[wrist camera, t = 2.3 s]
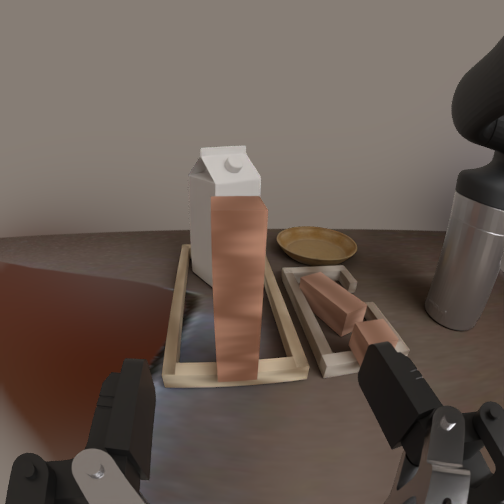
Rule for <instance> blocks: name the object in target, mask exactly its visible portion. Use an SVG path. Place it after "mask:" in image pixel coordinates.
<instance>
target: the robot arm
mask: <svg viewBox="0 0 504 504" xmlns="http://www.w3.org/2000/svg"><path fill="white" fill-rule="evenodd" d="M452 118H453V122H454V125H455V127H456V129H457V131H458V132H459V133H460V134H461V135H462V136H463V137H464V138H465V139H467V140H468V141H470V142H473V143H475V144H478V145H481V146H484V147H487V148H490V149H493V150H495V153H494V157H493V160H492V161H491V162H490V163H489V164H487V165H486V166H483V167H481V168H476V169H468V170H463V171H461V172H460V173H459V175H458V179H457V184H456V191H455V196H454V201H453V206H452V211H451V216H450V220H449V224H448V229H447V233H446V237H445V240H444V244H443V248H442V251H441V255H440V258H439V262H438V265H437V268H436V271H435V275H434V278H433V281H432V284H431V287H430V290H429V293H428V295H427V298H426V301H425V309H426V311H427V312H428V314H429V315H430V316H431V317H432V318H433V319H434V320H435V321H437V322H438V323H439V324H441V325H443V326H445V327H448V328H450V329H454V330H461V331H463V330H469V329H471V328H472V327H474V325H475V323H476V321H477V319H479V318H480V316H481V314H482V312H483V309H484V307H485V305H486V303H487V300H488V298H489V295H490V293H491V290H492V288H493V285H494V283H495V280H496V277H497V275H498V272H499V269H500V266H501V262H500V261H501V258H502V255H503V252H504V36H503V38H502V39H501V40H500V41H499V42H498V43H497V45H496V46H495V47H494V48H493V49H492V50H491V51H490V52H489V53H488V54H487V55H486V56H485V57H484V58H483V59H482V60H480V61H479V62H478V63H477V64H476V65H475V66H474V67H472V68H471V69H470V70H469V71H468V72H467V73H466V74H465V75H464V77H463V78H462V79H461V81H460V82H459V84H458V86H457V88H456V91H455V93H454V97H453V101H452ZM358 382H359V385H360V387H361V389H362V391H363V393H364V395H365V397H366V399H367V401H368V403H369V405H370V407H371V409H372V411H373V413H374V415H375V417H376V419H377V421H378V423H379V425H380V427H381V429H382V431H383V433H384V435H385V437H386V439H387V441H388V443H389V445H390V447H391V449H395V448H398V447H400V446H403V448H404V451H403V452H402V455H401V458H400V462H399V466H398V470H397V473H396V477H395V480H394V483H393V487H392V490H391V492H390V495H389V496H388V498H387V499H386V501H385V502H384V504H504V409H503V408H502V407H501V406H500V405H499V404H497V403H495V402H486V403H484V404H483V405H482V406H481V407H480V409H479V410H478V411H477V412H470V413H461V412H460V411H459V410H458V409H456V408H454V407H452V406H443V405H442V404H441V402H440V401H439V399H438V398H437V396H436V395H435V393H434V392H433V391H432V389H431V388H430V386H429V385H428V383H427V382H426V380H425V379H424V378H422V375H421V373H420V372H419V371H417V368H416V366H415V365H414V364H413V362H412V361H411V360H410V359H409V358H408V357H407V356H405V355H404V354H402V353H401V352H397V351H396V350H395V348H394V347H393V345H392V344H391V343H390V342H388V341H386V342H381V343H375V344H370V345H369V346H368V348H367V351H366V353H365V356H364V359H363V362H362V364H361V367H360V369H359V372H358ZM99 396H100V397H99V399H98V402H97V408H96V410H95V414H94V417H93V421H92V426H91V429H90V434H89V439H88V442H87V446H86V448H85V449H84V450H83V451H81V452H80V453H78V454H77V455H76V456H75V458H73V459H70V460H64V461H50V462H45V461H44V460H43V459H42V458H41V457H40V456H38V455H36V454H33V453H25V454H22V455H20V456H19V457H17V459H16V460H15V461H14V463H13V466H12V471H11V475H10V480H9V485H8V491H7V497H6V503H5V504H149V503H148V502H147V500H146V499H145V498H144V496H143V495H142V494H141V493H140V491H139V489H140V480H149V478H150V461H151V447H152V434H153V423H154V413H155V404H156V394H155V387H154V383H153V380H152V376H151V373H150V369H149V365H148V362H147V360H146V359H127V358H126V359H125V360H124V362H123V365H122V369H121V373H113V372H112V373H111V374H110V375H109V376H108V377H107V378H106V380H105V381H104V382H103V384H102V388H101V392H100V395H99ZM484 446H485V447H486V449H487V450H488V452H489V454H490V456H491V458H492V460H493V461H494V463H495V466H496V471H495V473H494V474H492V473H491V471H490V469H489V467H488V466H487V464H486V462H485V460H484V458H483V456H482V454H481V452H480V450H481V449H482V448H483V447H484Z"/></svg>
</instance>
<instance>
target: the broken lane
mask: <svg viewBox="0 0 504 504" xmlns="http://www.w3.org/2000/svg"><path fill="white" fill-rule="evenodd" d="M281 279H282V281H283V284H284V286H285V288H286V291H287V293H288V295H289V298H290V300H291V302H292V305H293V307H294V310H295V312H296V314H297V317H298V319H299V321H300V324H301V326H302V328H303V331H304V333H305V336H306V338H307V340H308V343H309V345H310V348H311V350H312V352H313V355H314V357H315V360H316V362H317V364H318V367H319V369H320V372H321V374H322V376H323V378H328V377H334V376H340V375H346V374H351V373H356V372H359V369H360V367H361V364H362V362H363V359H364V356H365V353H366V351H367V348H368V346H369V345H370V344H375V343H381V342H386V341H388V342H390V343H391V344H392V345H393V347H394V348H395V350H396V351H397V352H401V353H402V354H404V355H405V356H407V355H408V353H409V350H410V349H409V348H408V347H407V345H406V344H405V343H404V341H403V340H402V339H401V337H400V336H399V335H398V333H397V332H396V331H395V329H394V328H393V327H392V325H391V324H390V323H389V322H388V320H387V319H386V318H385V316H384V315H383V314H382V312H381V311H380V310H379V309H378V307H377V306H376V305H375V303H374V302H367V303H364V302H362V301H361V300H360V299H358V298H357V297H355V296H354V295H353V294H351V293H355V290H356V286H357V281H356V280H355V279H354V277H353V276H352V275H351V274H350V272H349V271H348V270H347V269H346V268H345V266H344V265H339V266H316V267H292V268H282V275H281ZM334 281H339V282H340V283H341V285H342V286H343V287H344V288H343V287H341V286H340V285H339V284H337V283H336V282H334ZM298 283H300V286H299V284H298ZM313 313H314V314H316V315H317V316H318V317H319V318H320V319H321V320H322V321H324V322H325V323H326V324H327V325H328V326H329V327H330V328H332V329H333V330H334V331H335V332H336V333H337V334H338V335H340V336H341V337H342V336H344V335H346V334H348V333H350V332H352V335H351V338H350V341H349V347H350V349H351V350H352V351H346V352H339V353H333V352H332V350H331V348H330V346H329V344H328V342H327V340H326V338H325V336H324V334H323V332H322V330H321V328H320V326H319V324H318V322H317V320H316V318H315V316H314V314H313ZM364 317H365V319H366V320H367V321H363V318H364Z"/></svg>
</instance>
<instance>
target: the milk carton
mask: <svg viewBox="0 0 504 504" xmlns="http://www.w3.org/2000/svg"><path fill="white" fill-rule="evenodd" d="M188 186H189V187H188V188H189V218H190V240H191V258H192V271H193V272H194V273H195V274H197V275H198V276H199V277H200V278H201V279H203V280H204V281H205V282H206V283H208V284H209V285H210V286H211V287H212V288H213V280H212V248H211V196H260V187H261V177H260V175H259V174H258V172H257V170H256V169H255V167H254V166H253V164H252V162H251V161H250V159H249V158H248V156H247V154H246V146H227V147H210V148H200V158H199V159H198V161H197V162H196V164H195V165H194V167H193V169H192V170H191V172H190V173H189V175H188Z"/></svg>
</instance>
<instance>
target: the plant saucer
mask: <svg viewBox="0 0 504 504" xmlns="http://www.w3.org/2000/svg"><path fill="white" fill-rule="evenodd" d="M277 242H278V244H279V245H280V247H281V248H282V249H283V251H284V252H285V253H286V254H287V255H288V256H290V257H291V258H292V259H294V260H296V261H298V262H300V263H303V264H307V265H311V266H334V265H338V264H340V263H342V262H344V261H346V260H347V259H349V258H350V257H351V256H353V255H354V254H355V253H356V251H357V245H356V243H355V242H354V241H353V240H352V239H351V238H350V237H348V236H346V235H344V234H342V233H340V232H337V231H334V230H331V229H327V228H321V227H310V226H302V227H293V228H288V229H285V230H283V231H281V232H280V233H279V234H278V235H277Z"/></svg>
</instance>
